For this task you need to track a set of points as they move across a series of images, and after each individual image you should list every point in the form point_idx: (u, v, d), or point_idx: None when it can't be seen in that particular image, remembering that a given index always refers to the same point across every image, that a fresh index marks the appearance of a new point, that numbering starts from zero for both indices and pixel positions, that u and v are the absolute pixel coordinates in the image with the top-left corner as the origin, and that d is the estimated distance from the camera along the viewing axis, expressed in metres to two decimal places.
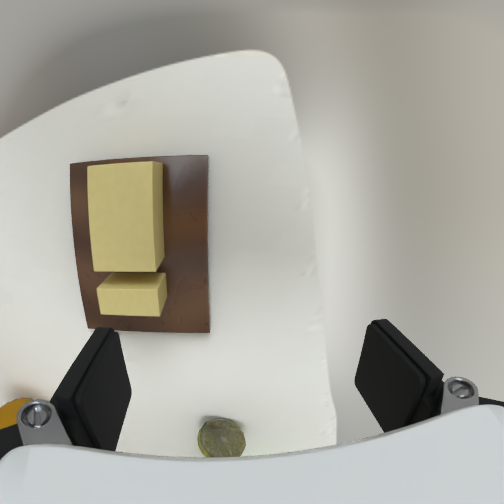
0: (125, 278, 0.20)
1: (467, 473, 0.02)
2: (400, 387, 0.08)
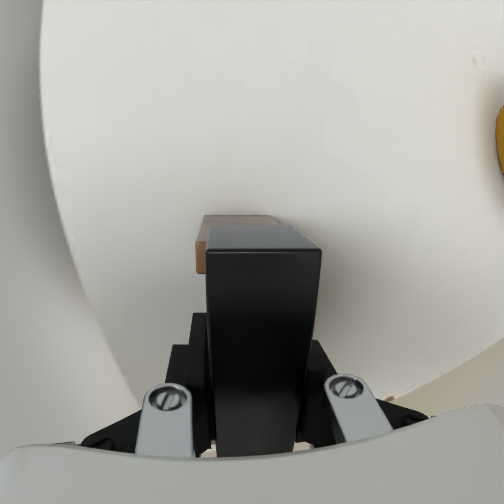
0: None
1: (467, 473, 0.02)
2: None
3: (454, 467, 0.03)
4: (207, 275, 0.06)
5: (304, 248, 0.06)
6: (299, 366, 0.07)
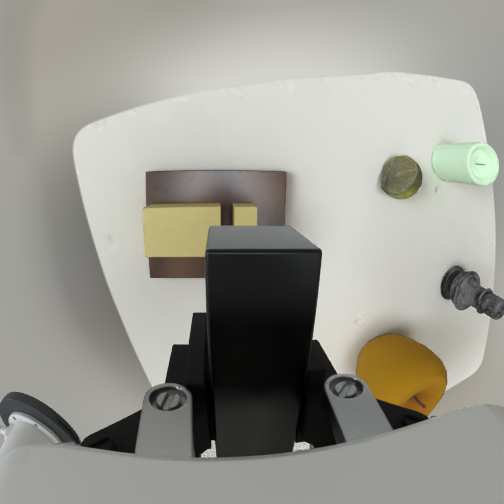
0: None
1: (467, 473, 0.02)
2: None
3: (454, 467, 0.03)
4: (207, 276, 0.06)
5: (304, 249, 0.06)
6: (299, 367, 0.07)
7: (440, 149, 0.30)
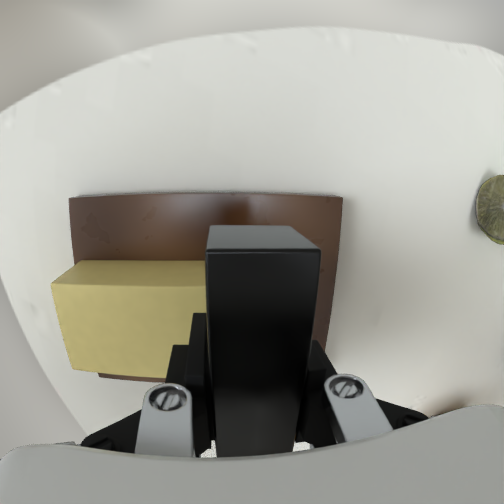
0: None
1: (467, 473, 0.02)
2: None
3: (454, 467, 0.03)
4: (207, 275, 0.06)
5: (304, 248, 0.06)
6: (299, 366, 0.07)
7: None
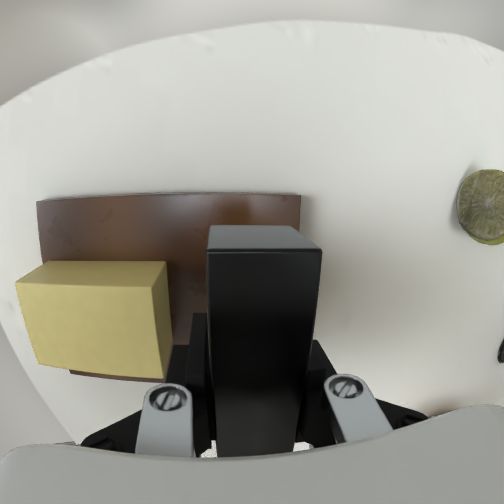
0: None
1: (467, 473, 0.02)
2: None
3: (454, 467, 0.03)
4: (208, 275, 0.06)
5: (305, 248, 0.06)
6: (299, 366, 0.07)
7: None
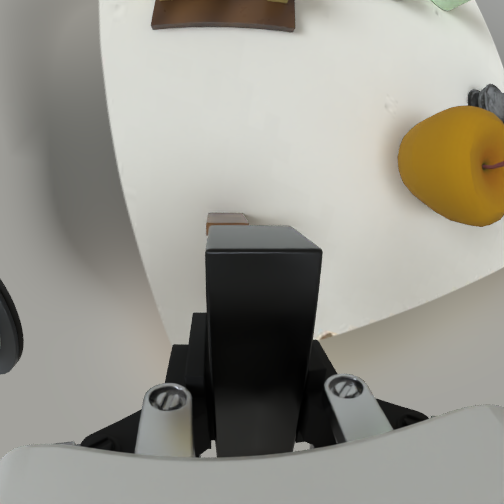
0: None
1: (467, 473, 0.02)
2: None
3: (454, 467, 0.03)
4: (207, 275, 0.06)
5: (304, 248, 0.06)
6: (299, 366, 0.07)
7: None
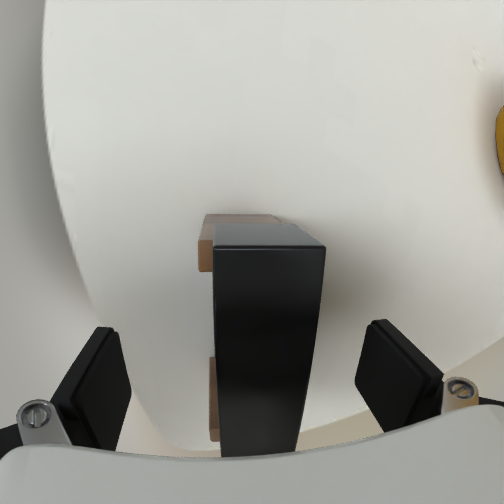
0: None
1: (467, 473, 0.02)
2: (400, 387, 0.08)
3: (454, 467, 0.03)
4: (214, 271, 0.06)
5: (309, 245, 0.06)
6: (303, 361, 0.07)
7: None
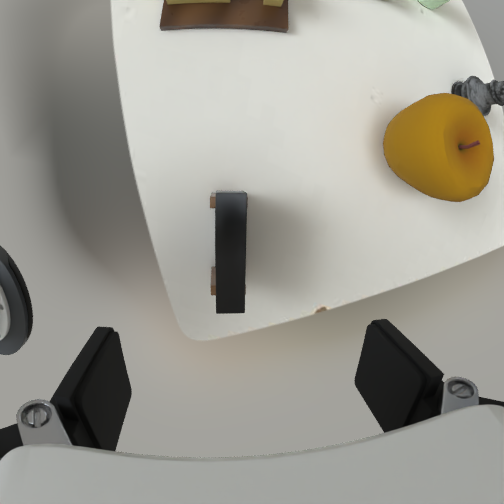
0: None
1: (467, 473, 0.02)
2: (400, 387, 0.08)
3: (454, 467, 0.03)
4: (216, 199, 0.22)
5: (242, 192, 0.22)
6: (243, 230, 0.23)
7: None
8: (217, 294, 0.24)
